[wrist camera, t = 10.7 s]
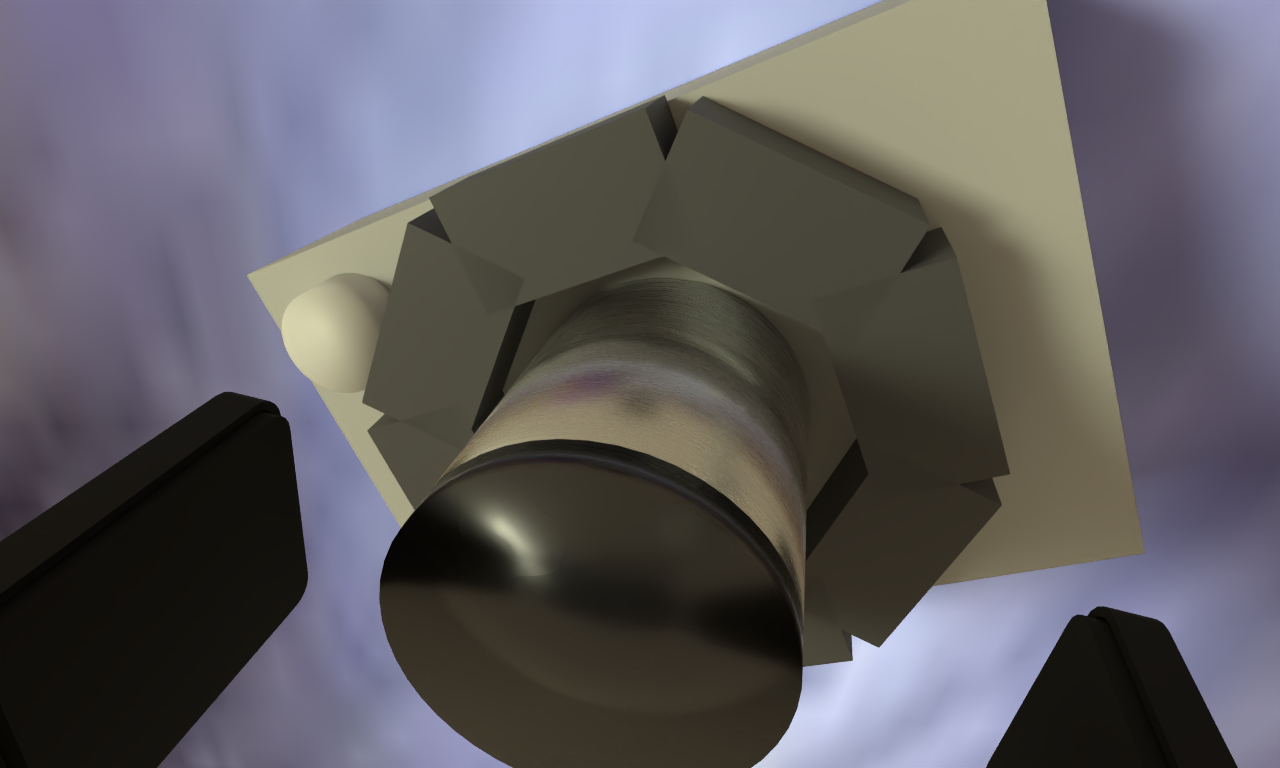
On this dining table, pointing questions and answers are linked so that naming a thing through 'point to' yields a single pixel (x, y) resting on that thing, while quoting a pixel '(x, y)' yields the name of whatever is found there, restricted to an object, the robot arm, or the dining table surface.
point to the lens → (619, 545)
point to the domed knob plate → (784, 295)
